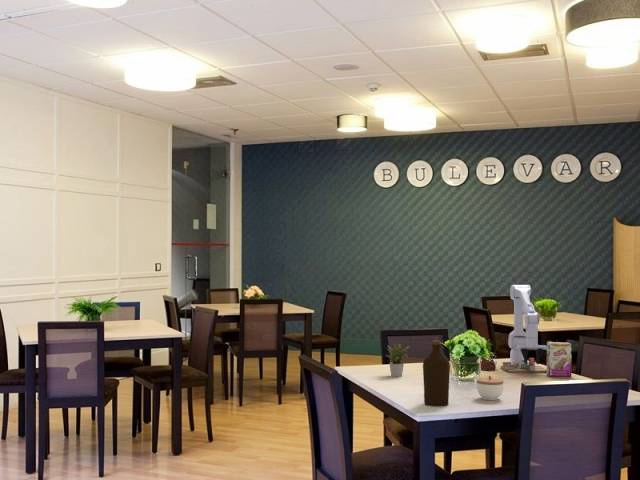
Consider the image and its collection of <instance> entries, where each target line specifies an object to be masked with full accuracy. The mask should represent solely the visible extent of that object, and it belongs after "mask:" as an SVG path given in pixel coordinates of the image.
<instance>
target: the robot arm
mask: <svg viewBox="0 0 640 480" xmlns="http://www.w3.org/2000/svg"><path fill="white" fill-rule="evenodd" d="M509 291H510V293H509V295H510V296H509V297H510V299H511V300H513V322H514V323H513V330H512V331H511V332H510V333H509V335H508V339H507V341H508V347H509V348H510V349H511V350H510V353H509V355H510V357H509V359H510V361H509V362H511V364H513V363H514V362H517V363H519V366H520V362H521V361H522V360H524V362H525V364H527V362H528V354H529V351H528V350H535V365H536V364H537V365H539V364H540V361H541V357H542V355H543V354H544V351H545V350H546V351H547V344H546V345H544V344H543V345H542V344H541V345H540V344H539V343H538V342H539V341H538V340H539V339H538V337H539V334H538V333H539V332H538V330H539V327H538V326H539V324H540V314H539V313H538V312H537V311H536V309H535V306H534V304H533V303H532V302H531V300H530V296H531V294H532V287H531V285H530V284H512V285H511V286H510V288H509ZM524 328H525V331H524Z"/></svg>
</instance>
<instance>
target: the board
mask: <svg viewBox="0 0 640 480" xmlns="http://www.w3.org/2000/svg"><path fill="white" fill-rule="evenodd" d="M500 369H501V370H503V371H505V372H506V373H509V374H547V368H544V367H542V366H540V365H539V366H538V365H535V371H530V370H528V369H522V368H520V366H519V367H518V368H515V364H511V362H510V361H502V365H501V366H500Z"/></svg>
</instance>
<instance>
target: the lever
mask: <svg viewBox="0 0 640 480" xmlns="http://www.w3.org/2000/svg"><path fill="white" fill-rule="evenodd" d="M535 366H536V357H535V358H534V357H529V358H528V361H527V364H525V362H524V360H522V361H521V362H520V368H522V369H528V370H530V371H535Z"/></svg>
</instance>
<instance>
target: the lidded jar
mask: <svg viewBox="0 0 640 480" xmlns="http://www.w3.org/2000/svg"><path fill="white" fill-rule="evenodd" d="M476 389H477V393H478V395H479V396H480V397H481V399H482V400H485V401H497V400H498V399H499V398H500V397H501V395H502V393H503V390H504V380H503V379H501V378H496V377H492V376H491V375H488V377H478V378H477V379H476Z"/></svg>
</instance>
